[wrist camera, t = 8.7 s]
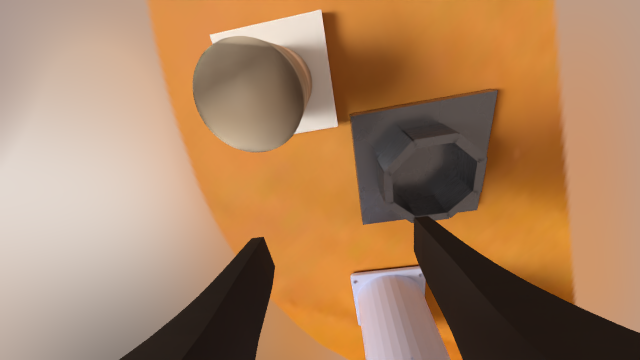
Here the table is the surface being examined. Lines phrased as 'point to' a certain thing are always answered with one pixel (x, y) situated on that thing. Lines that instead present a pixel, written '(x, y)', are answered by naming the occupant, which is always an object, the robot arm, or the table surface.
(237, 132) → the tan cylinder
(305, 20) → the tile pad
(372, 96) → the table surface
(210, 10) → the table surface
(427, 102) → the housing
